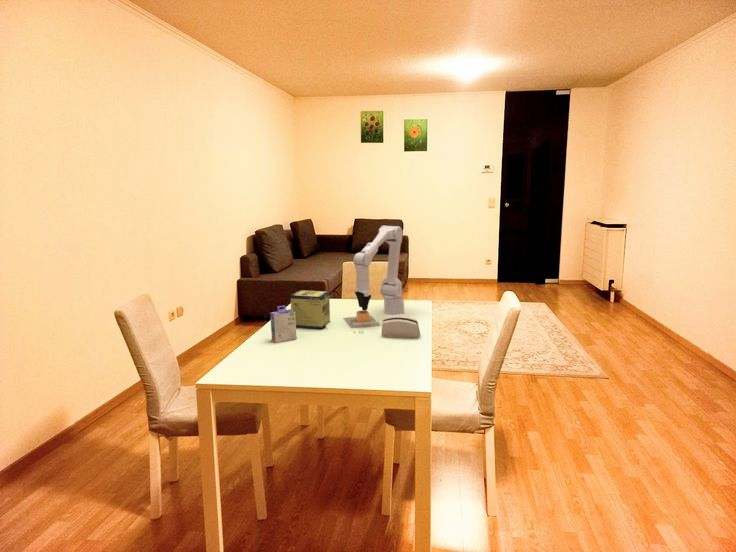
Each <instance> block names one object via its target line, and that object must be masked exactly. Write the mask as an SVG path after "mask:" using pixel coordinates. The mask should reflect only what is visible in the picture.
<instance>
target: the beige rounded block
mask: <svg viewBox="0 0 736 552" xmlns="http://www.w3.org/2000/svg"><path fill="white" fill-rule="evenodd" d="M420 335H421V331H420V327H419V321H418V320H417V319H415V318H412V317H410V316H409V317H408V316H401V315H399V316H397V315H396V316H395V315H394V316H389V317H388V316H387V317H385V318H383V320H382V323H381V337H397V338H401V337H402V338H416V339H417V338H418V339H420V337H421V336H420Z"/></svg>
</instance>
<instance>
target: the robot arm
mask: <svg viewBox="0 0 736 552" xmlns="http://www.w3.org/2000/svg"><path fill="white" fill-rule="evenodd" d="M403 235H404V232H403V229H402V228H401V226H399V225H397V226H396V225H395V226H394V225H384V224H383V225H381V226H380V228H378V233H377V235H376V236H375V238H374V239H373V241H372V242H367V243H366V245H365V246H364V248H362V250H361V251H359V252H357V253H355V254H354V255H353V259H352V263H353V265H354V268H355V278H356V279H355V281H356V283H355V285H356V288H354V289H353V291H354V293H355V296H356V299H357V303H358V306H359V308H361V309H362V310H361V311H363V310H366V311H368V306H369V303H370V300H371V298H372V294H370V269H369V268H370V267H369V266H370V265H371V263H372V260H373V257H375V255H376V254H377V252H378V251H379V247H380V246H381V245H382V244H383V243H384V242H385V243H387V244H388V245H389V250H388V258H387V259H388V260H387V270H386V277H385V278H384V279H382V281H381V285H380V294H381V296H382V298H383V302H384V303H383V308H384V309H383V310H384V311H383V312H384V314H385V315H387V316H388V315H390V316H393V315H394V316H395V315H400V314H401V315H402V314H403V315H405V301H404V297H403V295H402V294H403V282H402V281H401V280H400V278H398V275H399V263H400V254H401V244H402V242H403Z"/></svg>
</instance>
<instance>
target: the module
mask: <svg viewBox="0 0 736 552" xmlns="http://www.w3.org/2000/svg"><path fill="white" fill-rule="evenodd" d="M355 313H356V314H355V315H356V316H355V317H357V322H368V321H369V316H370V312H369V311H368V310H357V311H356V312H355Z"/></svg>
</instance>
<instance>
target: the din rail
mask: <svg viewBox="0 0 736 552" xmlns="http://www.w3.org/2000/svg"><path fill="white" fill-rule="evenodd" d="M373 318H374V317H373V316H372V317H371V318H369V321H368V322H357V319H350V323H351V325H352V326H353V327H360V326H371V325H377V322H378V321H377V320H376V321H374V319H375V318H374V319H373Z"/></svg>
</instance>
